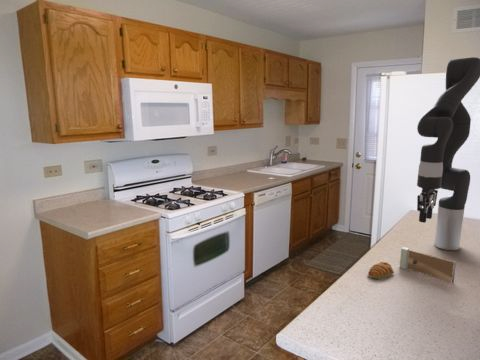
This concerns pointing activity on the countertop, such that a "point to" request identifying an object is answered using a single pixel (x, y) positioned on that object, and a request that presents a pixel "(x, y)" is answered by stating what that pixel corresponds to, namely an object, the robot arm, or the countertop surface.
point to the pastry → (381, 270)
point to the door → (430, 265)
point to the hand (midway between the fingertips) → (425, 219)
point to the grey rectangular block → (405, 261)
